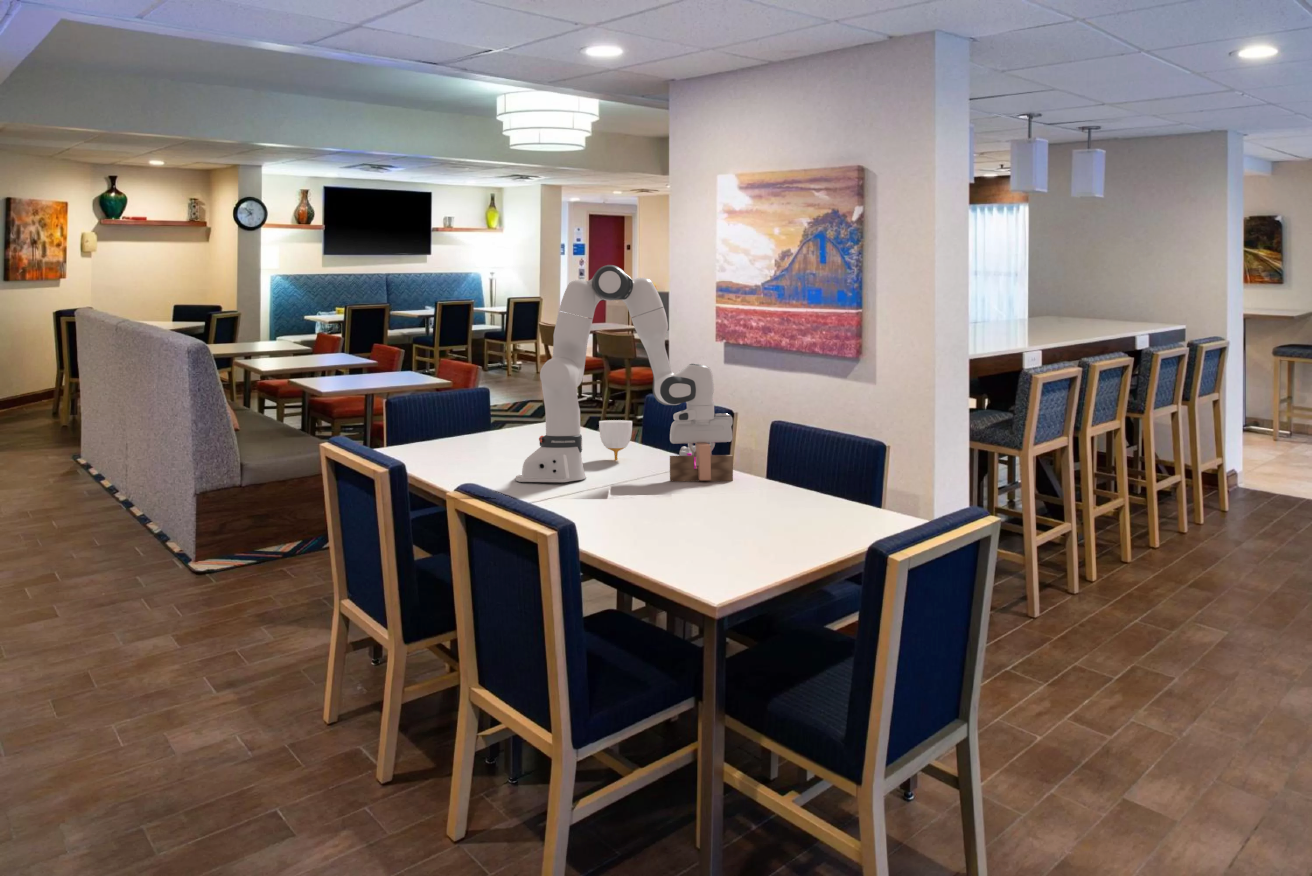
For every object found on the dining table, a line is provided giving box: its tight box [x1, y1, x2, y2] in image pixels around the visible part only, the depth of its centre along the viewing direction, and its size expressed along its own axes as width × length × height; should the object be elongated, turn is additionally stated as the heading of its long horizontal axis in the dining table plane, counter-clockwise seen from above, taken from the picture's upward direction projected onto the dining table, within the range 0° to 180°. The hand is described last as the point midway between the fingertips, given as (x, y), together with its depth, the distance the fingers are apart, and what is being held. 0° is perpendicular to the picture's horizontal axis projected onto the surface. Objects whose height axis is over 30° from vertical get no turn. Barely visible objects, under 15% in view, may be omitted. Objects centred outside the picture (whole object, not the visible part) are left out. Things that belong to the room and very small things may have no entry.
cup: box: [598, 419, 633, 461], centre depth 341 cm, size 12×12×17 cm
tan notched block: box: [694, 443, 711, 480], centre depth 310 cm, size 4×12×11 cm, turn 4°
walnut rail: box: [669, 454, 734, 482], centre depth 310 cm, size 20×2×8 cm, turn 93°
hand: (701, 456), depth 315 cm, fingers closed on tan notched block, 3 cm apart
